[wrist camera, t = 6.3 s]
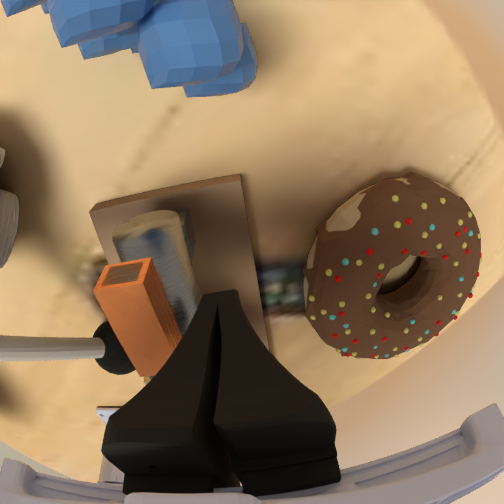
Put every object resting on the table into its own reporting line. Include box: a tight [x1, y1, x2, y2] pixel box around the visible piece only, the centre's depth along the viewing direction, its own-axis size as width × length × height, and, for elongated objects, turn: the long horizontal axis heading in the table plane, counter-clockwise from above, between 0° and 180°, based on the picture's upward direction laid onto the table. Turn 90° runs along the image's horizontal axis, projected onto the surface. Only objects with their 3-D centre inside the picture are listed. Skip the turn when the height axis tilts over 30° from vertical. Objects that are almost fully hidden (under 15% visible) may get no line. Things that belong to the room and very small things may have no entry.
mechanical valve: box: [0, 148, 136, 375], centre depth 17 cm, size 10×18×15 cm
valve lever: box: [93, 257, 182, 380], centre depth 14 cm, size 11×2×2 cm, turn 9°
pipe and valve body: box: [112, 207, 202, 385], centre depth 19 cm, size 18×5×6 cm, turn 8°
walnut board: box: [89, 174, 269, 350], centre depth 22 cm, size 18×9×1 cm, turn 8°
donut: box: [302, 172, 482, 359], centre depth 20 cm, size 14×14×5 cm
